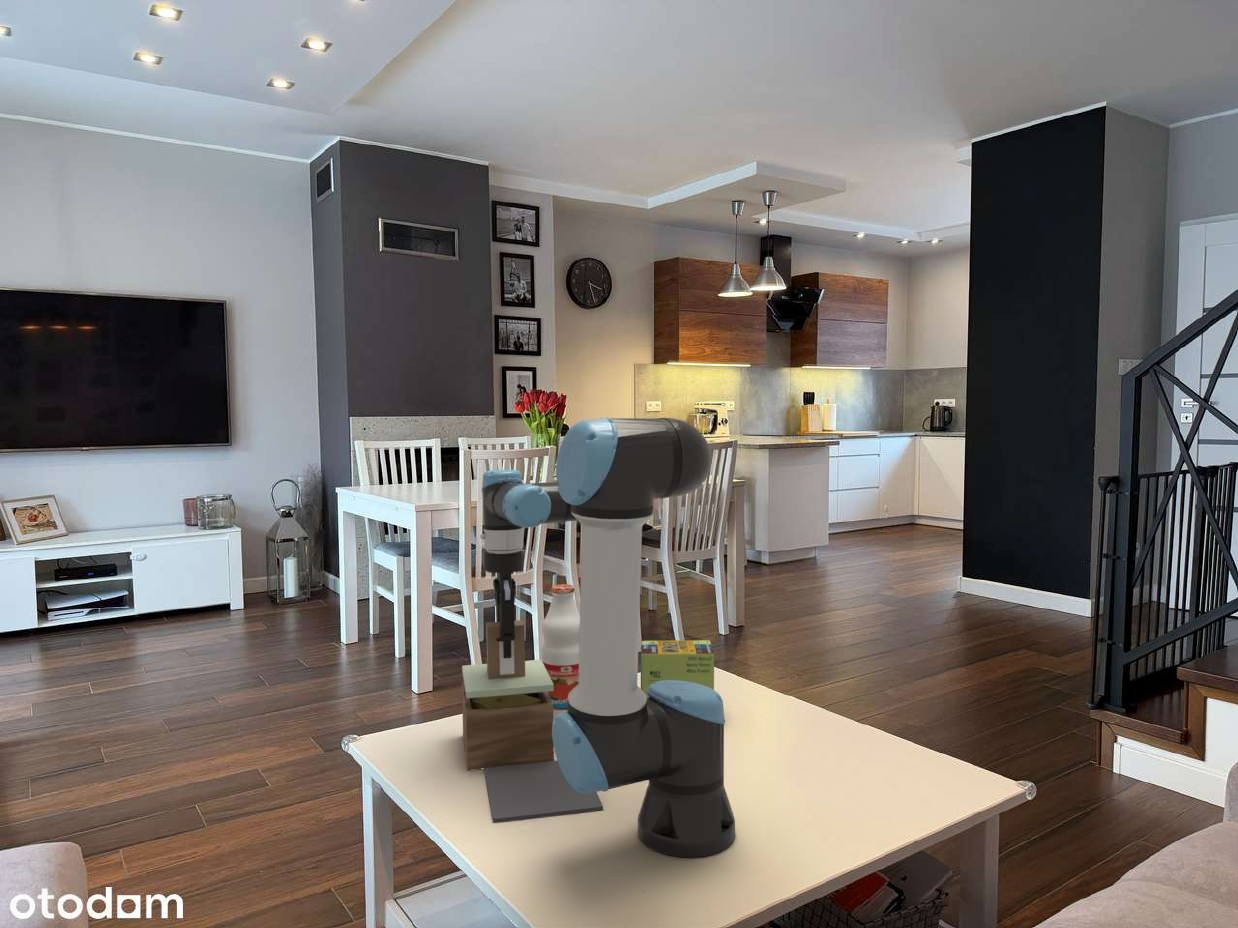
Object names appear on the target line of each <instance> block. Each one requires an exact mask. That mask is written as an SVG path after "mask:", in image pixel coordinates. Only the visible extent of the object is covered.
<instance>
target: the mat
mask: <svg viewBox="0 0 1238 928" xmlns="http://www.w3.org/2000/svg"><path fill="white" fill-rule="evenodd" d="M483 770H484V777H485V783H486V788H487V793H488V799H489V806H490V811H491V812H490V813H491V818H492V823H503V822H504V823H505V822H510V821H518V820H519V821H520V820H529V819H537V818H544V817H545V818H546V817H554V816H563V815H572V814H578V813H579V814H580V813H581V814H582V813H588V812H598V811H604V805H603V803H602V800H601V799H600V796H599V794H598V792H593V793H587V794H583V793H579V792H577V791H576V790H574V789H573V788H572V787H571V786H570V784H569V783H568V782H567V780H566V779H565V777H564V775H563V773H562V771H561V768H560V766H559V763H558V760H554V761H548V762H538V763H528V764H518V765H508V766H499V767H489V768H484V769H483Z"/></svg>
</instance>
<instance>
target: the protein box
mask: <svg viewBox="0 0 1238 928" xmlns="http://www.w3.org/2000/svg"><path fill="white" fill-rule="evenodd" d="M662 680H677V681H686V682H692V683H696V684H700V685H704V686H706V687H709V688H711V689H713V690H715V652H714V649H713V646H712V643H711V640H708V639H707V640H706V639H702V640H700V639H699V640H688V639H687V640H685V639H684V640H681V639H679V640H672V639H671V640H641V641H640V689H641V690H642V691H643V692H644V693H645V694H646V696H647V697H648V694H647V691H648V688H649V686H650V685H651V684H652V683H654V682H656V681H662Z"/></svg>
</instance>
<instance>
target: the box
mask: <svg viewBox="0 0 1238 928" xmlns="http://www.w3.org/2000/svg"><path fill="white" fill-rule="evenodd" d="M461 694H462V695H461V696H462V697H461V698H462V707H461V708H462V735H463V736H462V738H463V747H464V755H465V761H466V762H465V763H466V771H467V770H468V771H472V770H471V769H478V770H482V769H481V768H489V767H499V766H508V765H518V764H528V763H538V762H548V761H555V750H554V745H553V739H552V724H553V703H552V700H551V698H550V696H549V694H548V692H536V693H524V695H527V696H530V697H534V698H538V699H540V700H542V704H530V705H518V706H506V707H495V708H483V709H471V701H472V700H473V699H477V698H481V697H477V698H466V692H465V686H464V682H462V683H461Z"/></svg>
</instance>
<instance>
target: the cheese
mask: <svg viewBox="0 0 1238 928" xmlns="http://www.w3.org/2000/svg"><path fill="white" fill-rule="evenodd" d="M530 704H542V700H540V699H538V698H534V697H530V696H527V695H524V694H513V695H501V696H489V697H481V698H477V699H473V700H472V701H471V709H483V708H495V707H506V706H518V705H530Z"/></svg>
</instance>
